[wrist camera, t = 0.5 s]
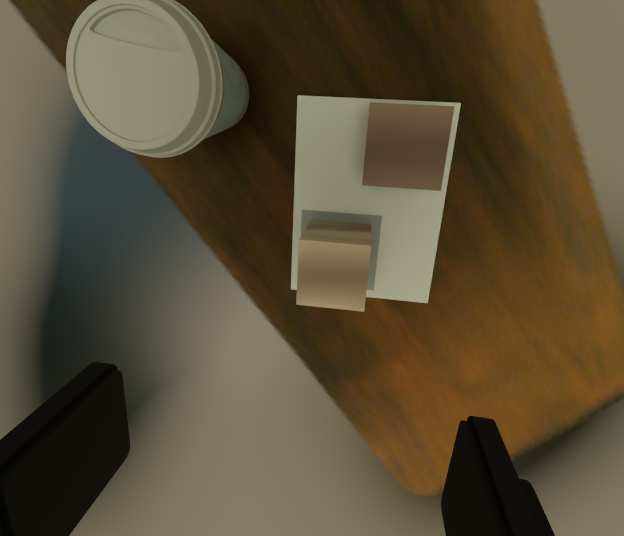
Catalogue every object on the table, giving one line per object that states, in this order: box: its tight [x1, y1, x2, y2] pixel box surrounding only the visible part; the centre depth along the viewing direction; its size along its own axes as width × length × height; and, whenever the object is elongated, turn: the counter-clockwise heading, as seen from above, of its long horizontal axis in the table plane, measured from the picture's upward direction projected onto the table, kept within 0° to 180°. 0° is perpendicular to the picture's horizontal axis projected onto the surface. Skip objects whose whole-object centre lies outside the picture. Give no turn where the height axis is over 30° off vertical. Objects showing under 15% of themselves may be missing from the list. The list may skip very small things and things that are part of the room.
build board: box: [291, 95, 461, 303], centre depth 33 cm, size 16×12×1 cm
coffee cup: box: [66, 0, 249, 158], centre depth 27 cm, size 8×9×12 cm
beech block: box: [296, 220, 371, 312], centre depth 31 cm, size 5×5×6 cm
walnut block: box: [362, 102, 455, 191], centre depth 28 cm, size 5×5×6 cm
